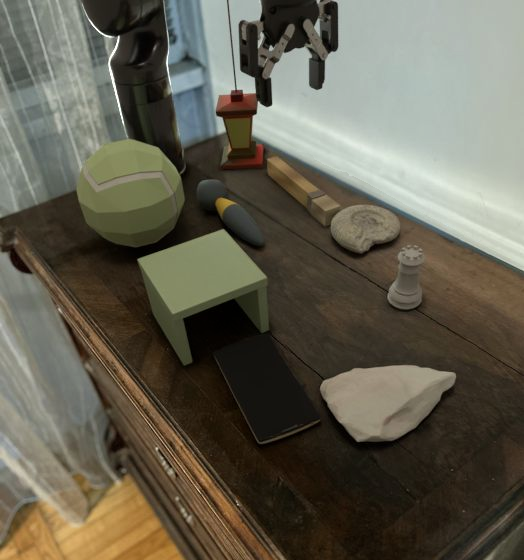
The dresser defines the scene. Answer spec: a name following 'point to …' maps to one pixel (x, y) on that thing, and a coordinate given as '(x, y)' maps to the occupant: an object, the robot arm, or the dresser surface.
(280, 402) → the smartphone
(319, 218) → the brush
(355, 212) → the fossil
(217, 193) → the paintbrush
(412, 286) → the rook chess piece
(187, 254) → the shelf
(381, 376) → the stone
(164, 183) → the decorative sphere
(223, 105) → the light fixture
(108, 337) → the dresser surface
